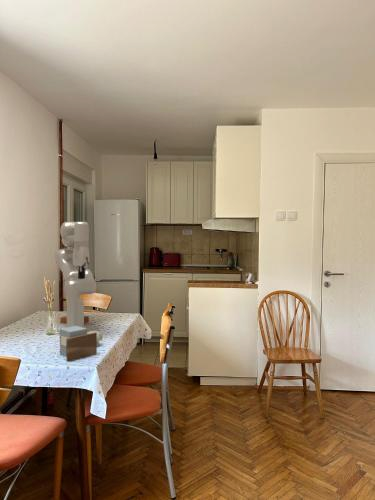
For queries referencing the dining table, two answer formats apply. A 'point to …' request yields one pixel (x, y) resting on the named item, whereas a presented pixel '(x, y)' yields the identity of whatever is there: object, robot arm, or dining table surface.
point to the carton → (64, 319)
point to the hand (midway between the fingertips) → (81, 278)
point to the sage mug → (99, 336)
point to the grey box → (69, 336)
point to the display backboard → (81, 346)
